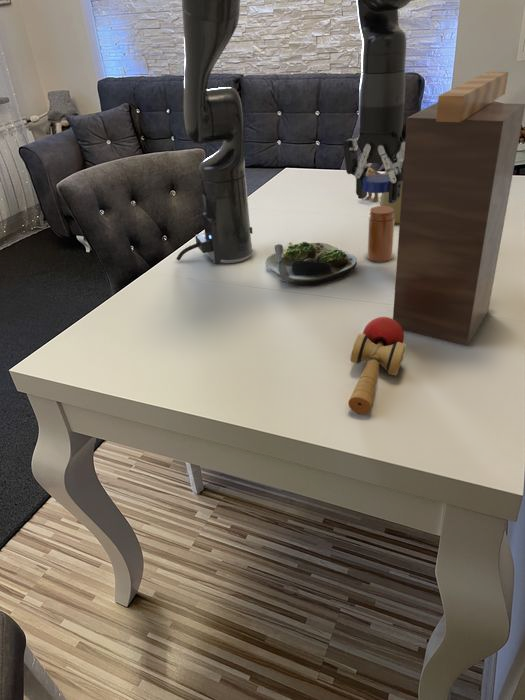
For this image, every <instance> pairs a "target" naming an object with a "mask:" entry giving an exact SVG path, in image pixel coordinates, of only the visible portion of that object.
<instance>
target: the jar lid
mask: <svg viewBox="0 0 525 700" xmlns="http://www.w3.org/2000/svg"><path fill="white" fill-rule="evenodd" d="M389 183H391V181H390V178H389V175H386V174H384V173H381V174H373V175H368V176H365V177H363V181H362V190H363V191H366V192H367V193H368V192H370V193H372V194H374V193H378V194H382V193H386V192H389Z"/></svg>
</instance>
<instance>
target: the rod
mask: <svg viewBox="0 0 525 700" xmlns="http://www.w3.org/2000/svg"><path fill="white" fill-rule="evenodd" d="M508 77H509V71H486V72H484V73H482V74H480V75H478V76H476V77H474V78H472V79H470V80H468V81H466V82H464V83H462V84H460V85H457V86H455V87H453V88H451V89H449V90H447V91H445V92H443V93H441V94H439V95H438V99H437V102H438V107H437V117H436V122H458V123H460V122H462V121H463V120H465V119H466V118H468V117H469V116H471V115H473V114H474V113H476V112H477V111H479V110H480V109H482V108H483V107H485V106H487V105H488V104H490V103H494V101H496V100H497V99H499V98H501V97H503V96H504V95H505V94H506V89H507V83H508Z"/></svg>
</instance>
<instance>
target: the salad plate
mask: <svg viewBox="0 0 525 700" xmlns="http://www.w3.org/2000/svg"><path fill="white" fill-rule="evenodd" d="M273 249H274V253H272V254H270V255H268V256H267V257H266V259H265V260H264V263H265V266H266V267H267V268H268V269H269V270H270V271H272V272H273V273H275V274H277V276H279V278H280V279H281V280H282V281H284V282H285V283H287V282H288V283H290V284H291V285H294V286H299V287H301V286H302V287H315V286H320V285H323V284H327V283H332V282H334V281H337V280H340V279H342V278H345V277H347V276H348V275H350V274H351V273H352V272H353V271H354V270H355V269H356V268H357V265H358V260H357V259H358V258H357V257H356V256H355V255H354V254H351V253H349V252H347V251H344V250H342V249H341V248H338V247H336V246H334V245H331V244H329V243H325V242H307V241H302V242H299V243H295V244H293V243H292V242H289V243H288V246H287V248H286V249H284V246H283V244H280V243H278V244H275V245H274V248H273Z"/></svg>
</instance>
